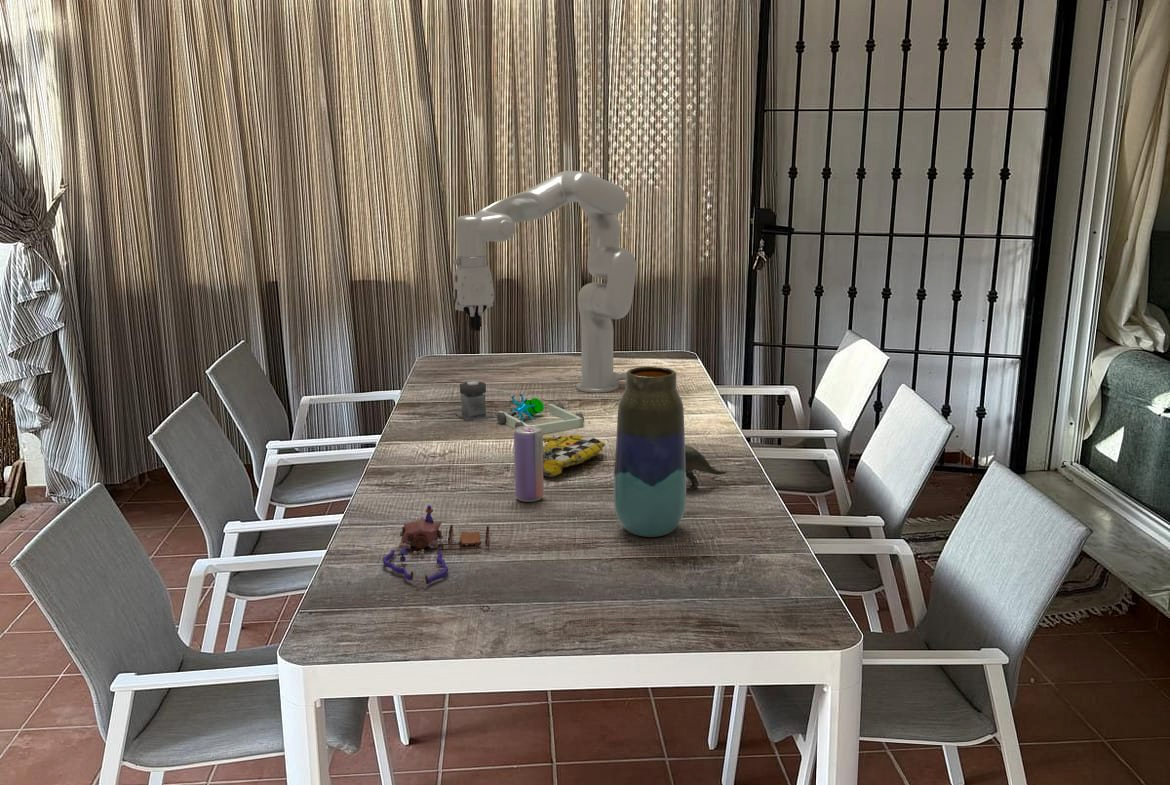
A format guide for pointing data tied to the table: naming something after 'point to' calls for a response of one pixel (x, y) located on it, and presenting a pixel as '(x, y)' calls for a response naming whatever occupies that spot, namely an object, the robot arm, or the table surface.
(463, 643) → the table surface
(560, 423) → the chassis bay
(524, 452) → the beverage can
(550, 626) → the table surface
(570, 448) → the toy spacecraft
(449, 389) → the table surface
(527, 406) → the stick construction toy
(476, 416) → the axle mount
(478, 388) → the wheel
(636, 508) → the vase
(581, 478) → the table surface
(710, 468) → the dinosaur figurine
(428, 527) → the playset
